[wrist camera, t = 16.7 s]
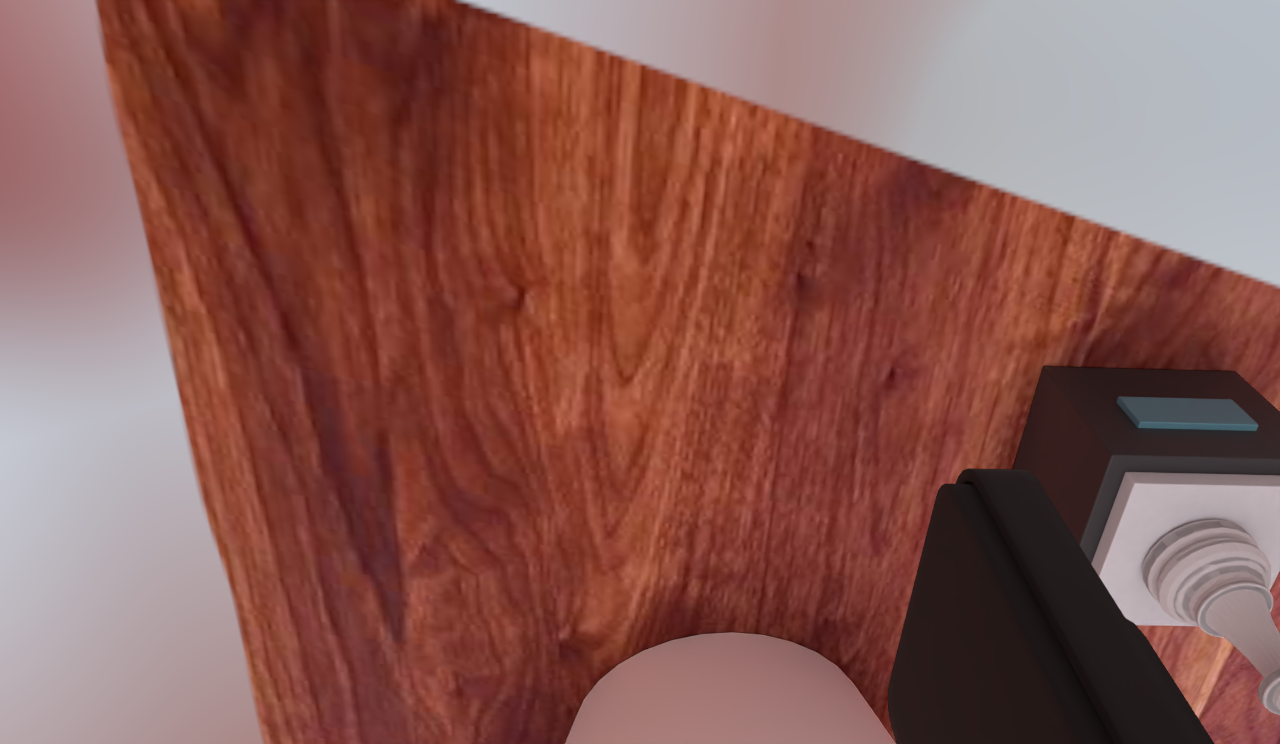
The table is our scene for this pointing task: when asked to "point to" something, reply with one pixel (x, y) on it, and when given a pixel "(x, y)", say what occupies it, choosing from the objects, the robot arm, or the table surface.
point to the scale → (1152, 465)
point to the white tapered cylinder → (726, 697)
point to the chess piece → (1220, 592)
